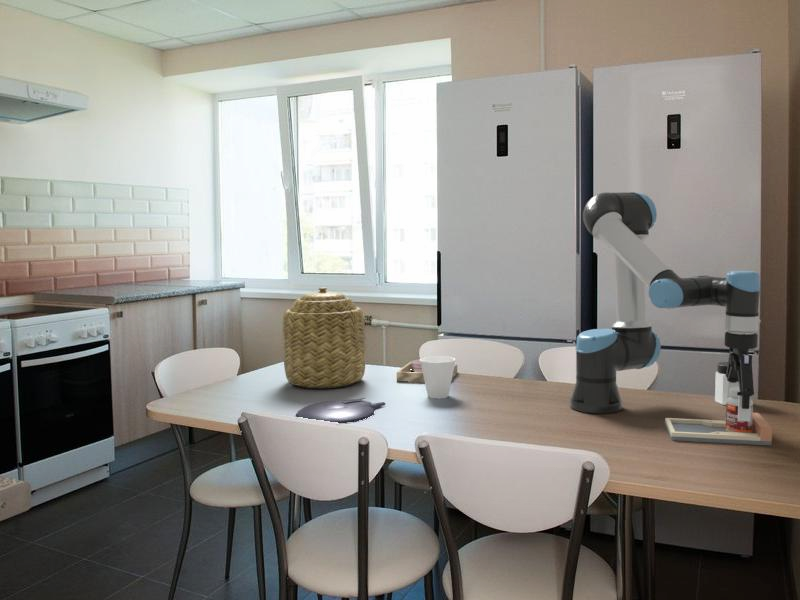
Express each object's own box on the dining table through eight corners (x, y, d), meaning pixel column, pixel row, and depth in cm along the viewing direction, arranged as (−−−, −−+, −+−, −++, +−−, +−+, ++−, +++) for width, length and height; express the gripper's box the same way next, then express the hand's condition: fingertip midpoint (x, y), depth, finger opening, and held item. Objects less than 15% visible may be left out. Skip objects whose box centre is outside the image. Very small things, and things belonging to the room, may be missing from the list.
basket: (297, 373, 269) (294, 284, 265) (373, 374, 264) (370, 283, 261) (273, 391, 239) (269, 291, 236) (357, 392, 235) (354, 290, 231)
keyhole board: (671, 440, 174) (671, 422, 174) (665, 425, 188) (665, 408, 187) (771, 445, 168) (772, 427, 168) (757, 429, 182) (758, 412, 182)
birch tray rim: (396, 381, 250) (396, 372, 250) (409, 371, 269) (409, 362, 268) (447, 383, 246) (447, 373, 245) (457, 372, 264) (457, 363, 263)
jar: (735, 407, 204) (736, 368, 203) (710, 402, 211) (711, 364, 210) (752, 403, 209) (753, 364, 208) (726, 398, 216) (727, 360, 215)
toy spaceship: (350, 398, 227) (350, 389, 227) (401, 411, 210) (400, 400, 210) (279, 415, 208) (279, 405, 208) (329, 430, 191) (329, 419, 191)
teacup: (427, 382, 249) (426, 365, 248) (398, 379, 255) (398, 363, 254) (442, 376, 259) (441, 359, 259) (414, 373, 265) (414, 357, 265)
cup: (415, 399, 223) (414, 361, 222) (427, 391, 234) (426, 355, 233) (449, 401, 219) (449, 363, 218) (460, 393, 230) (460, 356, 229)
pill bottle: (722, 432, 176) (723, 389, 175) (729, 427, 181) (730, 385, 180) (748, 436, 172) (750, 392, 171) (755, 431, 177) (756, 388, 176)
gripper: (770, 340, 161) (766, 428, 164) (746, 325, 185) (743, 401, 188) (735, 339, 163) (732, 426, 166) (716, 324, 187) (713, 400, 189)
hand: (738, 413), depth 177 cm, fingers open, 13 cm apart
